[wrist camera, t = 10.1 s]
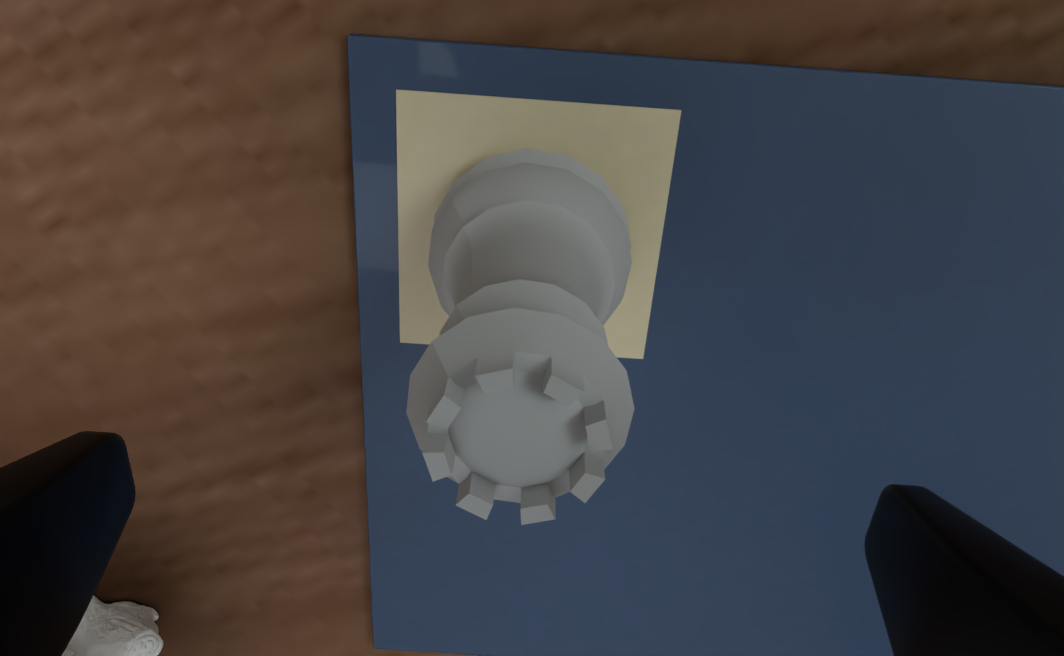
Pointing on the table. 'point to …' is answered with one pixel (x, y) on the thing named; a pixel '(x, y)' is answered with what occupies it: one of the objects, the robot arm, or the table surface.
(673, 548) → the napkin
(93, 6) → the table surface
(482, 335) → the rook chess piece
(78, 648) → the white bunny statuette
